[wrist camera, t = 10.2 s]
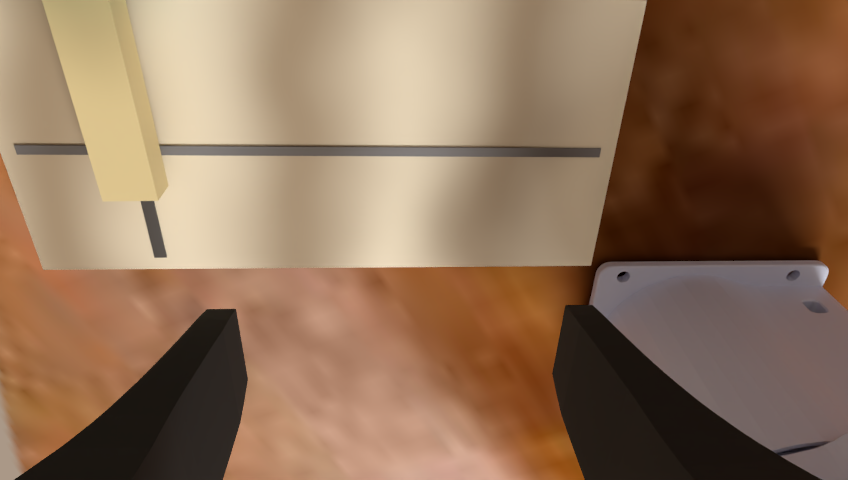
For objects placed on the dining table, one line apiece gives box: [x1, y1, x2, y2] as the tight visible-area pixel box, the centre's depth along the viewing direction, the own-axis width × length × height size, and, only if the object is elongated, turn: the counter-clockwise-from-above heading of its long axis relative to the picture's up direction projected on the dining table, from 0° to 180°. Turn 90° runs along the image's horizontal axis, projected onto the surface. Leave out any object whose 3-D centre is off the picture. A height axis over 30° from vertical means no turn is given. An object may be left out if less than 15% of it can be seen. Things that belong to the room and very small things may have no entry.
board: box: [0, 0, 647, 270], centre depth 19 cm, size 19×9×2 cm, turn 88°
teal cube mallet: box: [42, 0, 169, 202], centre depth 16 cm, size 4×10×5 cm, turn 179°
